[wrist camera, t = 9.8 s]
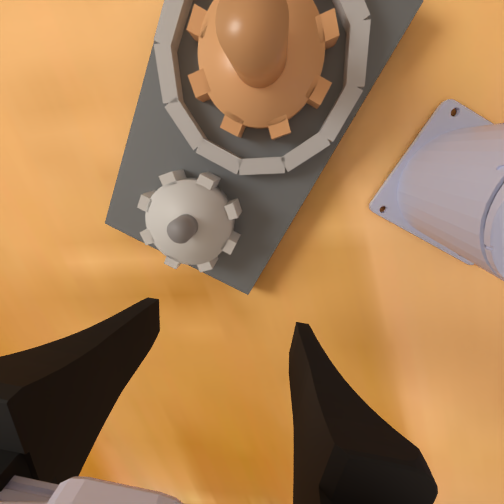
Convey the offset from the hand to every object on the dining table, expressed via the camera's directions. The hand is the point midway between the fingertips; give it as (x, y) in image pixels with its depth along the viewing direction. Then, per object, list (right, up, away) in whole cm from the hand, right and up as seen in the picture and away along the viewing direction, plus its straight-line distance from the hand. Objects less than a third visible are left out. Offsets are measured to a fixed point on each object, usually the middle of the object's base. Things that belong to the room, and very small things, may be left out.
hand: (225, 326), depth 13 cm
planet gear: (+2, +15, +2) cm, 15 cm away
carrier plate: (0, +12, +5) cm, 13 cm away
